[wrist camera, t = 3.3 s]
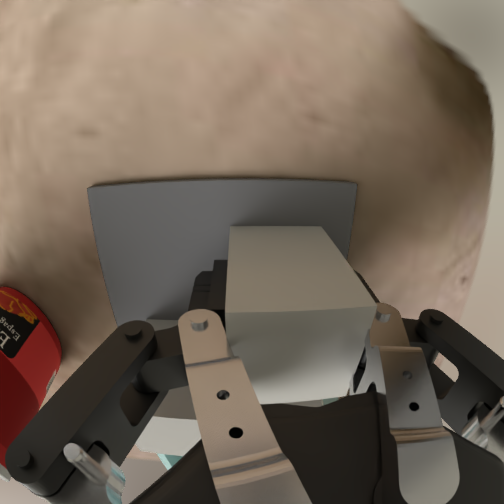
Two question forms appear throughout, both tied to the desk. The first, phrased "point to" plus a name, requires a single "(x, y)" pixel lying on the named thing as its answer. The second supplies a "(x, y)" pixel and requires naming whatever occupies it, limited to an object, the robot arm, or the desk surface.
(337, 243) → the mat
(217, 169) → the desk surface
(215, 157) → the desk surface
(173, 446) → the stone
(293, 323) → the stone
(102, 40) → the desk surface
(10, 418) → the canned food
